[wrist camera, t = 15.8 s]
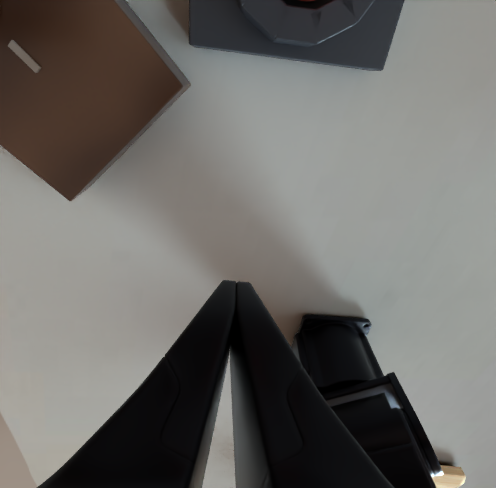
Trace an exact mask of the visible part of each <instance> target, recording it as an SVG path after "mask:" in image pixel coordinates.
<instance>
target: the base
mask: <svg viewBox="0 0 496 488" xmlns="http://www.w3.org/2000/svg"><path fill="white" fill-rule="evenodd" d="M190 86H191V83H190V82H189V81H188V79H187V78H186V77H185V76H184V74H183V73H182V72H181V71H180V69H179V68H178V67H177V65H176V64H175V63H174V62H173V60H172V59H171V58H170V57H169V55H168V54H167V53H166V52H165V50H164V49H163V48H162V46H161V45H160V44H159V43H158V41H157V40H156V39H155V38H154V36H153V35H152V34H151V33H150V31H149V30H148V29H147V27H146V26H145V25H144V24H143V22H142V21H141V20H140V19H139V17H138V16H137V15H136V14H135V12H134V11H133V10H132V9H131V7H130V6H129V5H128V3H127V2H126V1H125V0H0V145H1V146H2V147H4V148H5V149H6V150H7V151H9V152H10V153H11V154H12V155H14V156H15V157H16V158H17V159H18V160H20V161H21V162H22V163H23V164H25V165H26V166H27V167H28V168H30V169H31V170H32V171H33V172H34V173H36V174H37V175H38V176H39V177H41V178H42V179H43V180H44V181H46V182H47V183H48V184H49V185H50V186H52V187H53V188H54V189H55V190H57V191H58V192H59V193H60V194H62V195H63V196H64V197H65V198H66V199H68V200H69V201H72V200H73V199H75V198H76V197H77V196H79V195H80V194H81V193H83V192H84V191H85V190H86V189H88V188H89V187H90V186H91V185H92V184H93V183H94V182H95V181H96V180H97V179H98V178H99V177H100V176H101V175H102V174H103V173H104V172H105V171H106V170H107V169H108V168H109V167H110V166H111V165H112V164H113V163H114V162H115V161H116V160H117V159H118V158H119V157H120V156H121V155H122V154H123V153H124V152H125V151H126V150H127V149H128V148H129V147H130V146H131V145H132V144H133V143H134V142H135V141H136V140H137V139H138V138H139V137H140V136H141V135H142V134H143V133H144V132H145V131H146V130H147V129H148V128H149V127H150V126H151V125H152V124H153V123H154V122H155V121H156V120H157V119H158V118H159V117H160V116H161V115H162V114H163V113H164V112H165V111H166V110H167V109H168V108H169V107H170V106H171V105H172V104H173V103H174V102H175V101H176V100H177V99H178V98H179V97H180V96H181V95H182V94H183V93H184V92H185V91H186V90H187V89H188V88H189V87H190Z"/></svg>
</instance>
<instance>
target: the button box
mask: <svg viewBox="0 0 496 488" xmlns="http://www.w3.org/2000/svg"><path fill="white" fill-rule="evenodd" d="M403 3H404V0H314V1H300V0H189V43H190V45H192V46H194V47H198V48H206V49H213V50H221V51H228V52H236V53H243V54H251V55H258V56H265V57H273V58H280V59H288V60H295V61H303V62H310V63H318V64H325V65H333V66H340V67H347V68H355V69H362V70H370V71H381V70H383V68H384V65H385V61H386V58H387V55H388V52H389V48H390V45H391V42H392V39H393V35H394V32H395V29H396V26H397V23H398V19H399V16H400V13H401V10H402V6H403Z"/></svg>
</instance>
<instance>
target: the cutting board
mask: <svg viewBox="0 0 496 488" xmlns="http://www.w3.org/2000/svg"><path fill="white" fill-rule="evenodd" d="M440 466H441V468H442V471H443V474H444V475H439V476H434V477H432V479H433V481H434V483H435V485H436V488H457V487H459V486H461V485H462V484H464V483H465V477H466V476H465V474H464V472H463V471H462V469H461V467H453V466H444V465H440Z"/></svg>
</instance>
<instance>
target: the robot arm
mask: <svg viewBox="0 0 496 488" xmlns="http://www.w3.org/2000/svg"><path fill="white" fill-rule="evenodd" d="M370 327H371V323H370V321H369V320H368V319H362V318H348V317H335V316H321V315H305V316H303V318H302V321H301V324H300V328H299V331H298V333H296V334H295V336H294V340H293V343H292V346H291V347H290V345H289V344H288V342H287V340H286V339H285V337H284V336H283V334H282V333H281V331H280V329H279V328H278V326H277V325H276V323H275V321H274V320H273V318H272V317H271V315H270V314H269V312H268V310H267V309H266V307H265V306H264V304H263V302H262V301H261V299H260V298H259V296H258V294H257V293H256V291H255V290H254V288H253V287H252V285H251V284H250V283H249V282H240V281H239V282H237V283H236V282H235V281H229V280H223V281H222V282H221V283H220V285H219V286H218V287H217V288H216V290H215V291H214V292H213V294H212V295H211V296H210V298H209V299H208V300H207V301H206V303H205V304H204V305H203V307H202V308H201V309H200V310H199V312H198V313H197V314H196V316H195V317H194V318H193V319H192V321H191V322H190V323H189V325H188V326H187V327H186V329H185V330H184V331H183V332H182V334H181V335H180V336H179V338H178V339H177V340H176V341H175V343H174V344H173V345H172V347H171V348H170V349H169V350H168V352H167V353H166V354H165V357H163V358H162V359H161V361H160V362H159V363H158V364H157V366H156V367H155V368H154V370H153V371H152V372H151V373H150V374H149V376H148V377H147V378H146V379H145V380H144V382H143V383H142V384H141V385H140V386H139V388H138V389H137V390H136V391H135V392H134V393H133V394H132V395H131V396H130V397H129V398H128V399H127V400H126V402H125V403H124V404H123V405H122V406H121V407H120V408H119V409H118V410H117V411H116V412H115V413H114V414H113V415H112V416H111V417H110V418H109V419H108V420H107V421H106V422H105V423H104V424H103V425H102V426H101V427H100V428H99V430H98V431H97V432H96V433H95V434H94V435H93V436H92V437H91V438H90V439H89V440H88V441H87V442H86V443H85V444H84V445H83V446H82V447H81V448H80V449H79V450H78V451H77V452H76V453H75V454H74V455H73V456H72V457H71V458H70V459H69V460H68V461H67V462H66V463H65V464H64V465H63V466H62V467H61V468H60V469H59V470H58V471H57V472H55V473H54V474H53V475H52V476H51V477H50V478H48V479H47V480H46V481H45V482H43V483H42V484H41V485H40V486H38V487H37V488H202V484H203V479H204V474H205V470H206V465H207V460H208V455H209V450H210V445H211V440H212V436H213V431H214V426H215V421H216V416H217V411H218V407H219V402H220V397H221V392H222V387H223V382H224V377H225V373H226V368H227V363H228V358H229V351H230V372H231V393H232V415H233V436H234V458H235V479H236V488H436V485H435V483H434V481H433V479H432V477H434V476H439V475H444V474H443V471H442V468H441V466H440V464H439V461H438V459H437V457H436V455H435V452H434V450H433V448H432V446H431V444H430V442H429V439H428V437H427V435H426V433H425V431H424V429H423V427H422V425H421V423H420V421H419V419H418V417H417V415H416V413H415V411H414V410H413V408H412V406H411V404H410V402H409V400H408V398H407V396H406V394H405V392H404V390H403V389H402V387H401V385H400V383H399V381H398V379H397V377H396V375H395V373H394V372H392V373H389V374H387V375H386V376H384V375H383V373H382V371H381V368H380V366H379V364H378V362H377V360H376V357H375V355H374V353H373V351H372V349H371V346H370V344H369V342H368V340H367V338H366V336H367V334H368V332H369V329H370Z"/></svg>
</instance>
